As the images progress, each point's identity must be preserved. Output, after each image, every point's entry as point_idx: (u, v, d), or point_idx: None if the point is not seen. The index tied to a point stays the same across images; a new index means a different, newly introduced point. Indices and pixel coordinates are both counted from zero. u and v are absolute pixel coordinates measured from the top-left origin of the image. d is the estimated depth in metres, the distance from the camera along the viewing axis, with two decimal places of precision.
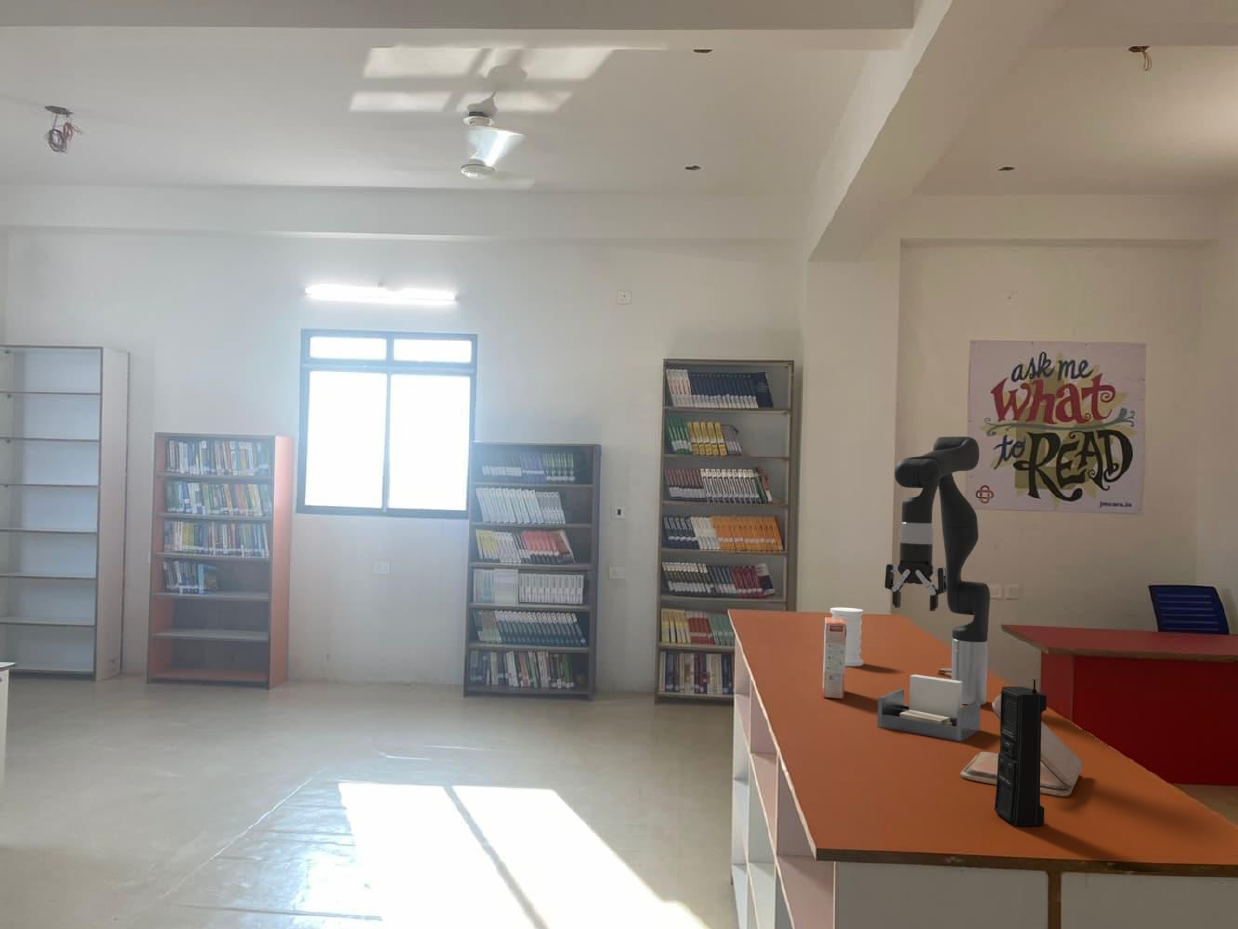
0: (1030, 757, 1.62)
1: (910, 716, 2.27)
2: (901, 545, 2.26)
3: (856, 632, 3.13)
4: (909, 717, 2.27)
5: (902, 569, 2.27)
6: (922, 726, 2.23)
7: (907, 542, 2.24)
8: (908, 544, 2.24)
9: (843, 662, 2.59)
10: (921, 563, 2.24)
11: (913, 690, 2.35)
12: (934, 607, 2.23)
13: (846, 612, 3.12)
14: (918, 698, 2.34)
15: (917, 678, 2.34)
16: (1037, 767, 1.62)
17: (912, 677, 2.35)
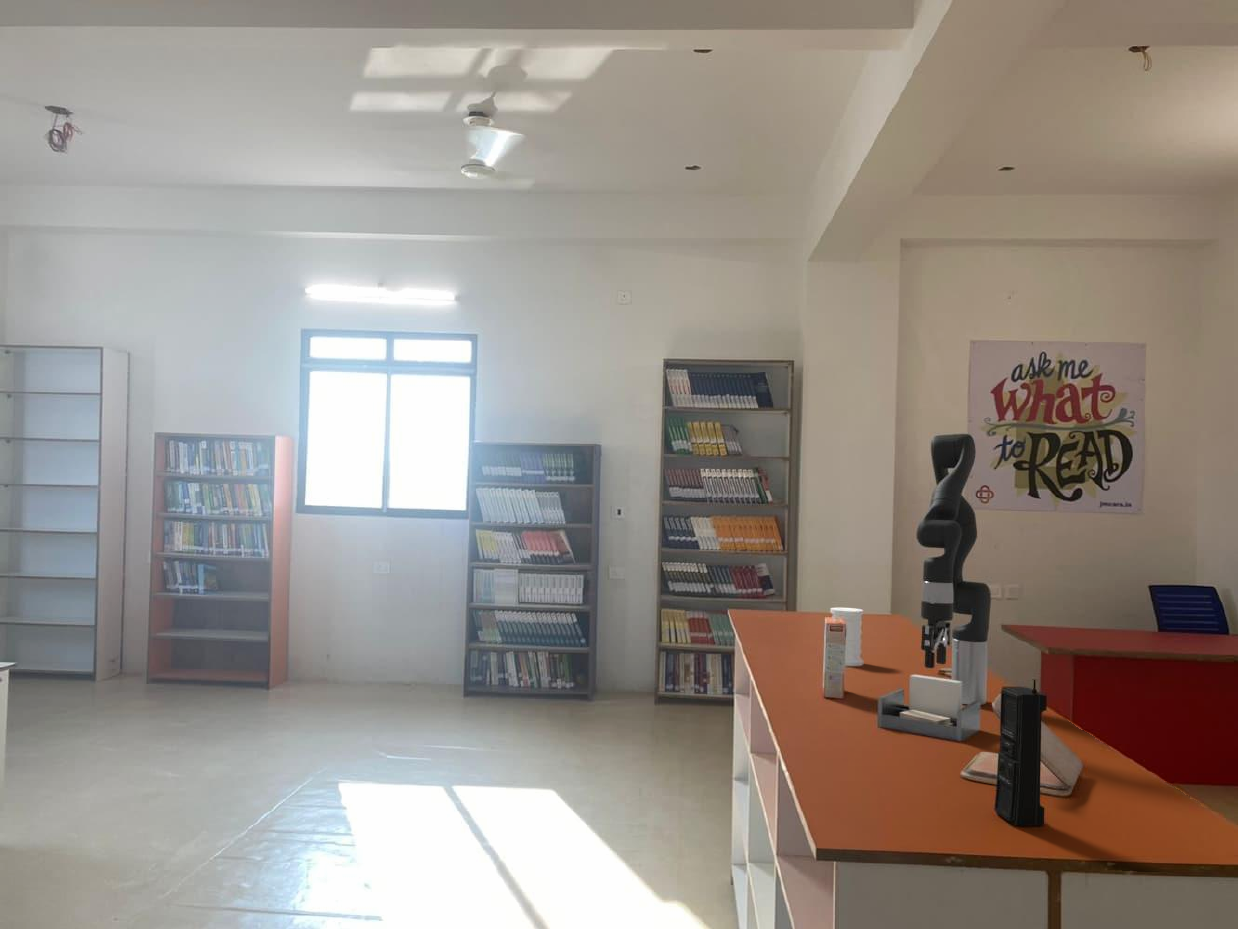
0: (1030, 757, 1.62)
1: (909, 715, 2.27)
2: (944, 606, 2.30)
3: (856, 632, 3.13)
4: (908, 716, 2.28)
5: (937, 629, 2.31)
6: (922, 726, 2.23)
7: (950, 602, 2.31)
8: (951, 604, 2.31)
9: (843, 662, 2.59)
10: (944, 620, 2.34)
11: (913, 690, 2.35)
12: None
13: (846, 612, 3.12)
14: (918, 698, 2.34)
15: (917, 678, 2.34)
16: (1037, 767, 1.62)
17: (912, 677, 2.35)
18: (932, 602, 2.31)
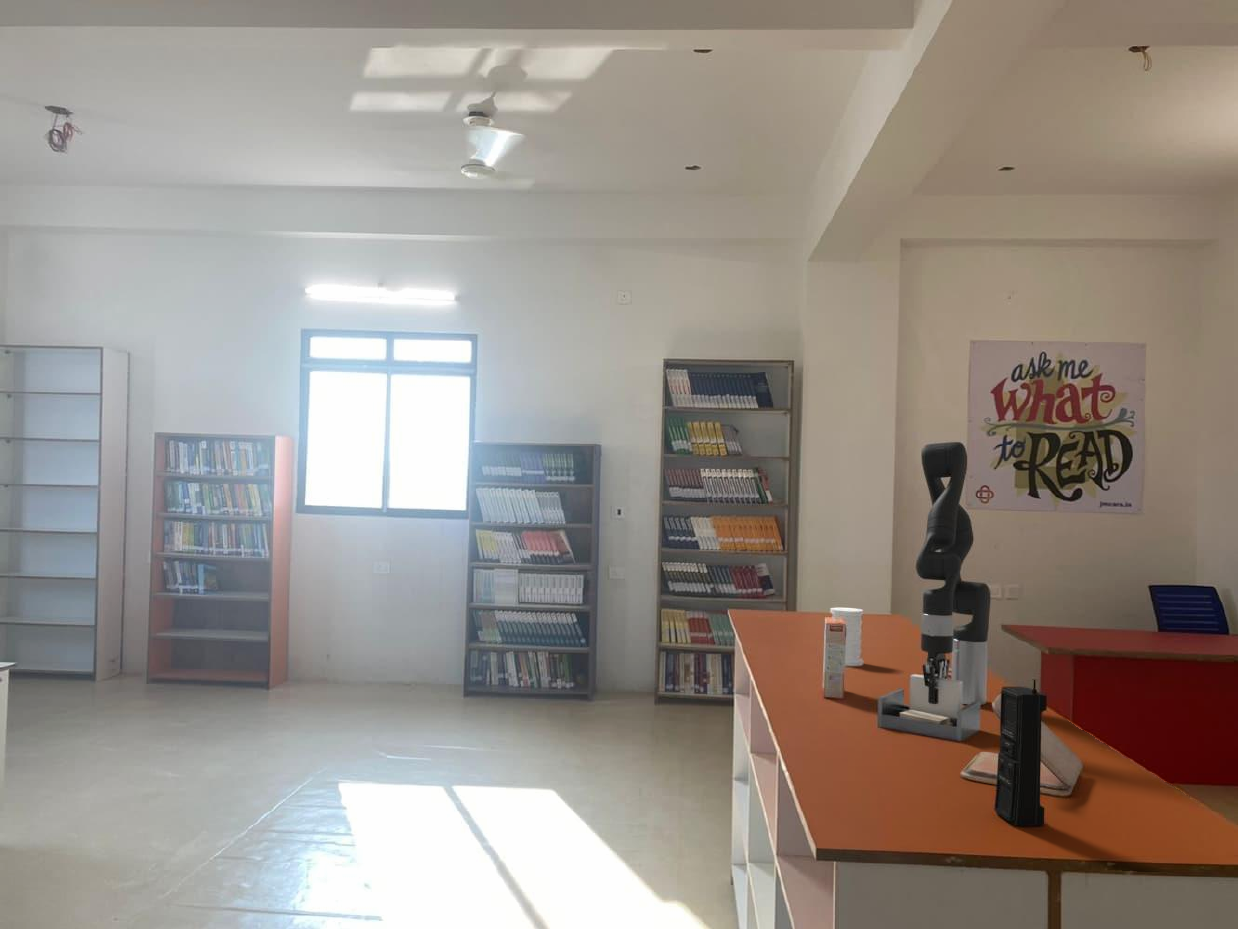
0: (1030, 757, 1.62)
1: (910, 716, 2.27)
2: (944, 638, 2.30)
3: (856, 632, 3.13)
4: (909, 717, 2.27)
5: (937, 661, 2.30)
6: (922, 726, 2.23)
7: (950, 635, 2.31)
8: (951, 636, 2.31)
9: (843, 662, 2.59)
10: None
11: (913, 690, 2.35)
12: None
13: (846, 612, 3.12)
14: (918, 697, 2.34)
15: (917, 678, 2.34)
16: (1037, 767, 1.62)
17: (912, 677, 2.35)
18: (932, 635, 2.30)
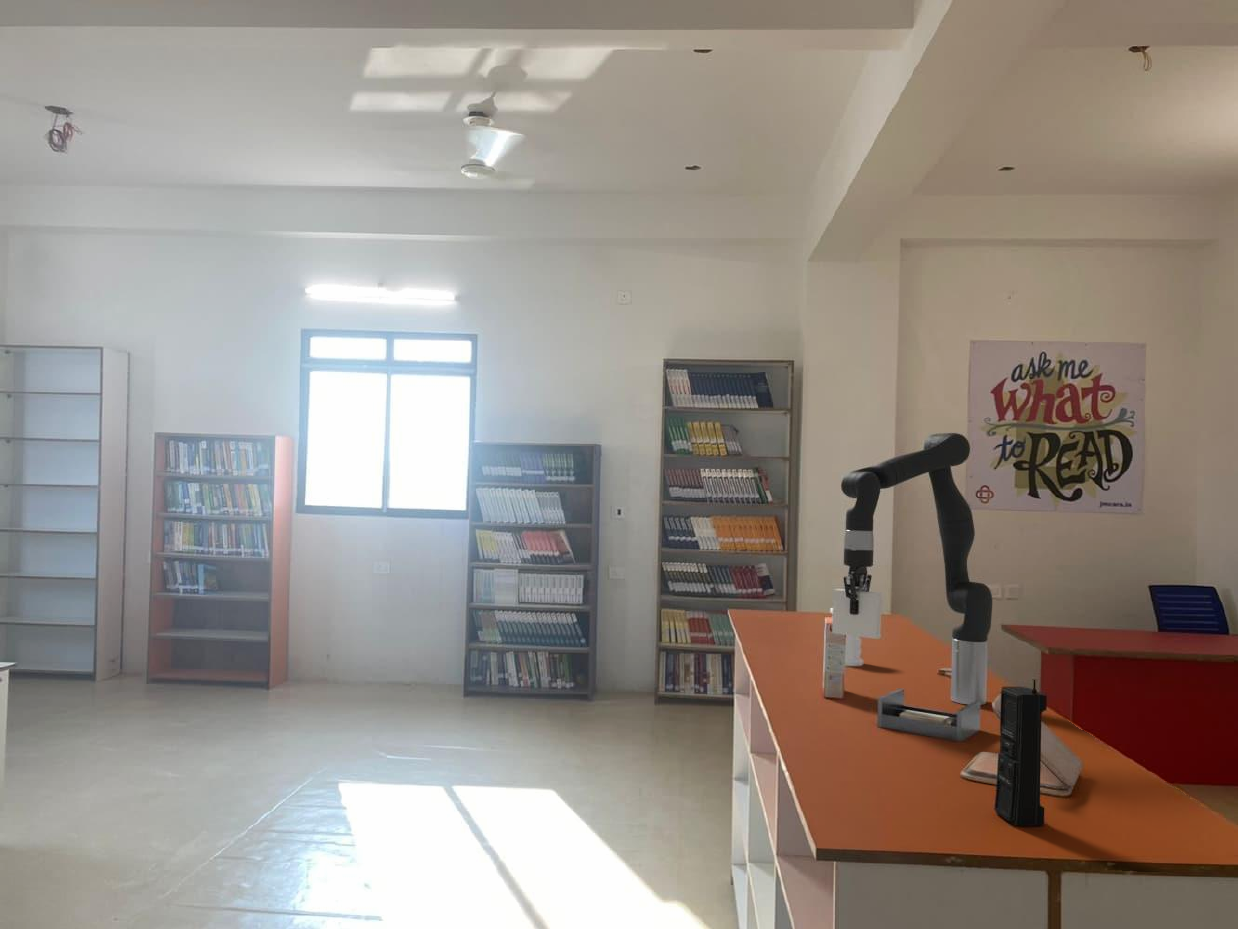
0: (1030, 757, 1.62)
1: (911, 716, 2.26)
2: (864, 552, 2.43)
3: None
4: (910, 717, 2.27)
5: (857, 574, 2.43)
6: (922, 726, 2.23)
7: (870, 549, 2.44)
8: (871, 551, 2.44)
9: (843, 662, 2.59)
10: (865, 567, 2.47)
11: (836, 602, 2.48)
12: None
13: None
14: (841, 610, 2.47)
15: (840, 591, 2.47)
16: (1037, 767, 1.62)
17: (835, 590, 2.48)
18: (853, 549, 2.43)
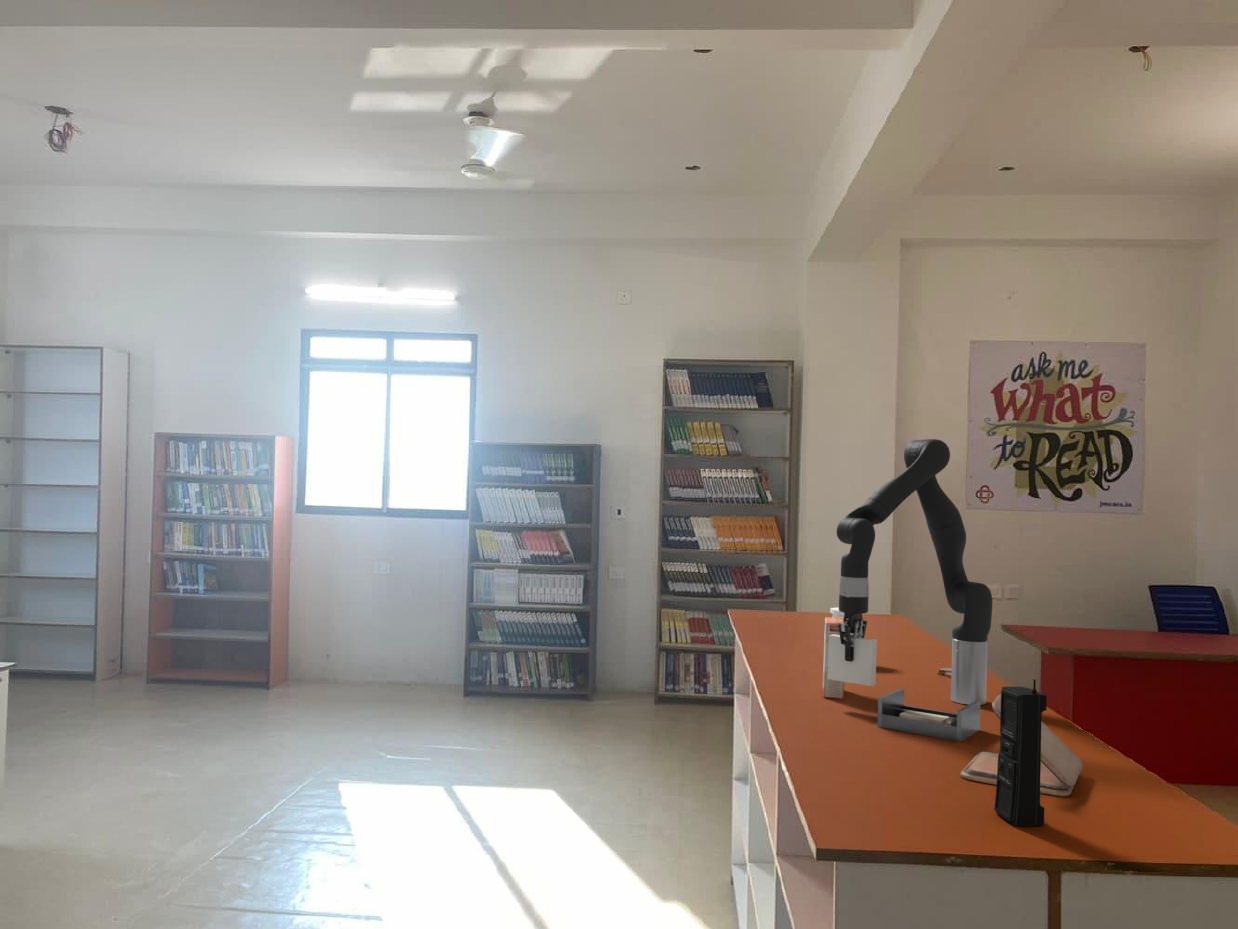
0: (1030, 757, 1.62)
1: (910, 716, 2.27)
2: (859, 599, 2.43)
3: None
4: (909, 717, 2.27)
5: (852, 621, 2.44)
6: (922, 726, 2.23)
7: (865, 596, 2.44)
8: (866, 597, 2.44)
9: None
10: None
11: (832, 648, 2.48)
12: None
13: None
14: (836, 656, 2.48)
15: (835, 637, 2.48)
16: (1037, 767, 1.62)
17: (831, 636, 2.49)
18: (848, 596, 2.44)
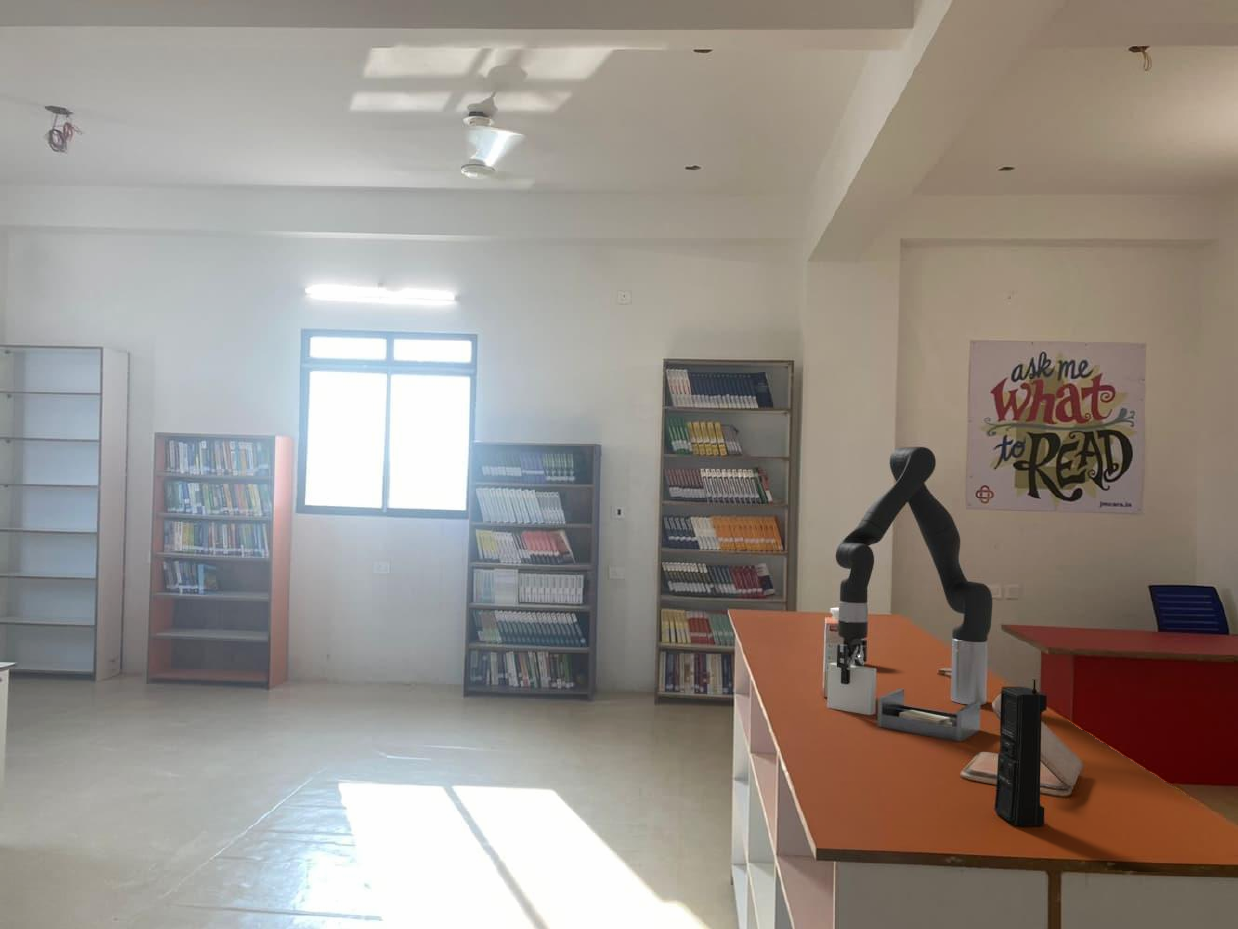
0: (1030, 757, 1.62)
1: (909, 716, 2.27)
2: (858, 624, 2.43)
3: None
4: (908, 717, 2.28)
5: (851, 646, 2.44)
6: (922, 726, 2.23)
7: (864, 621, 2.44)
8: (865, 623, 2.44)
9: None
10: None
11: (831, 677, 2.48)
12: None
13: None
14: (835, 684, 2.47)
15: (835, 666, 2.48)
16: (1037, 767, 1.62)
17: (830, 665, 2.48)
18: (847, 621, 2.44)
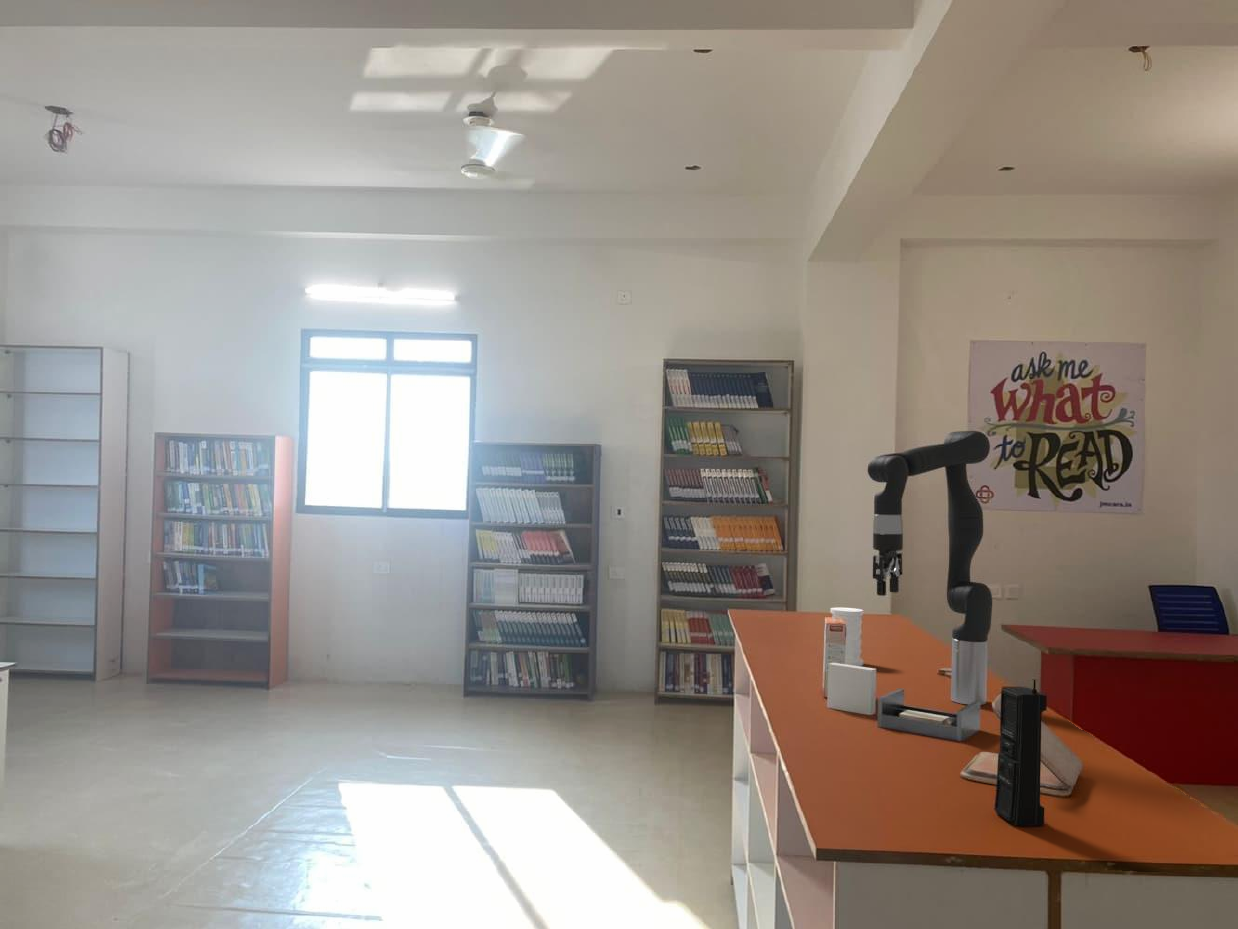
0: (1030, 757, 1.62)
1: (910, 716, 2.27)
2: (893, 536, 2.43)
3: (856, 632, 3.13)
4: (909, 717, 2.27)
5: (887, 558, 2.43)
6: (922, 726, 2.23)
7: (900, 533, 2.43)
8: (900, 534, 2.44)
9: (843, 662, 2.59)
10: (895, 551, 2.47)
11: (831, 677, 2.48)
12: None
13: (846, 612, 3.12)
14: (835, 684, 2.47)
15: (835, 666, 2.48)
16: (1037, 767, 1.62)
17: (830, 665, 2.48)
18: (882, 533, 2.43)
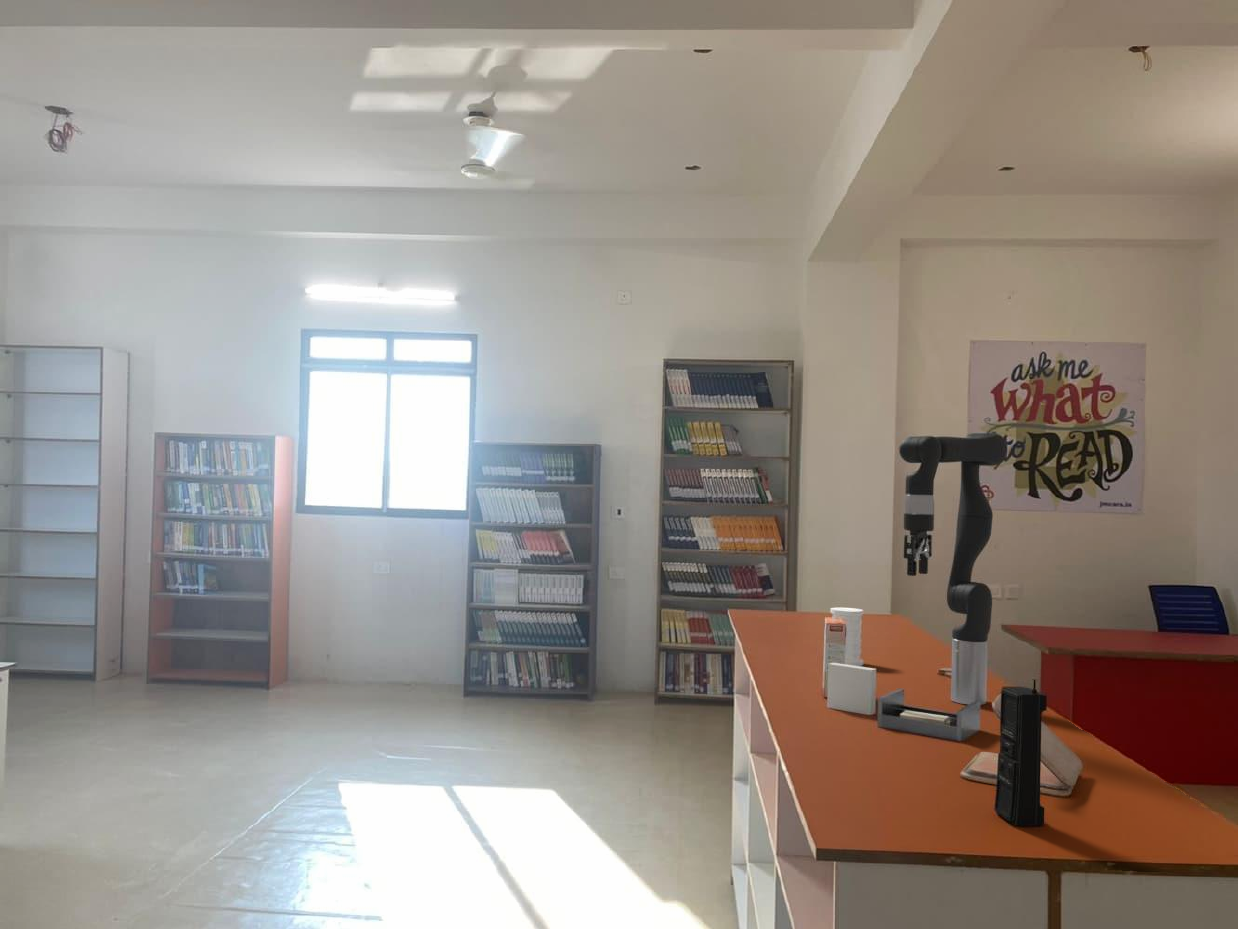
0: (1030, 757, 1.62)
1: (911, 717, 2.26)
2: (925, 516, 2.42)
3: (856, 632, 3.13)
4: (910, 718, 2.26)
5: (918, 538, 2.42)
6: (922, 726, 2.23)
7: (931, 513, 2.43)
8: (932, 515, 2.43)
9: (843, 662, 2.59)
10: (925, 532, 2.46)
11: (831, 677, 2.48)
12: None
13: (846, 612, 3.12)
14: (835, 684, 2.47)
15: (835, 666, 2.48)
16: (1037, 767, 1.62)
17: (830, 665, 2.48)
18: (914, 513, 2.42)
